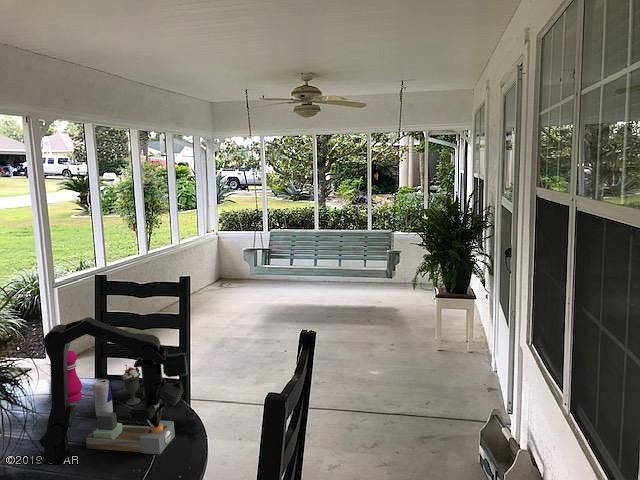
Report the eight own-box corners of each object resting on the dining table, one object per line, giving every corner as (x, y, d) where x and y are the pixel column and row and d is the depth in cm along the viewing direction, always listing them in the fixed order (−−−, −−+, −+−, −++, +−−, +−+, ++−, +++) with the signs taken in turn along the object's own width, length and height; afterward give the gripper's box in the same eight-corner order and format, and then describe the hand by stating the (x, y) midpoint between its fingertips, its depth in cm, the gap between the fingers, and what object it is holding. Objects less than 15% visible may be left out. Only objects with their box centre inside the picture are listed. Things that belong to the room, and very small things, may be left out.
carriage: (112, 441, 159) (109, 419, 158) (94, 440, 160) (91, 418, 159) (122, 431, 165) (120, 409, 164) (105, 430, 166) (102, 409, 165)
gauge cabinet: (161, 454, 155) (160, 438, 154) (141, 453, 156) (139, 437, 155) (176, 436, 164) (175, 421, 163) (156, 435, 165) (155, 420, 165)
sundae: (122, 407, 184) (118, 367, 181) (124, 399, 190) (120, 360, 188) (142, 404, 186) (138, 364, 183) (143, 396, 192) (139, 357, 189)
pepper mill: (57, 402, 190) (50, 350, 186) (71, 393, 196) (65, 342, 193) (73, 404, 187) (67, 351, 184) (87, 395, 194) (81, 344, 191)
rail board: (142, 452, 156) (141, 441, 156) (87, 448, 159) (85, 437, 159) (156, 435, 165) (155, 425, 164) (103, 432, 168) (102, 422, 167)
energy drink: (116, 411, 181) (112, 379, 179) (108, 419, 176) (104, 386, 174) (101, 411, 182) (97, 378, 180) (93, 419, 177) (89, 385, 175)
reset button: (160, 442, 158) (159, 429, 157) (149, 441, 158) (148, 429, 158) (166, 435, 161) (165, 423, 160) (155, 434, 162) (154, 423, 161)
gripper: (163, 393, 146) (167, 445, 149) (190, 366, 164) (194, 412, 167) (126, 392, 148) (131, 442, 150) (157, 365, 166) (161, 410, 169)
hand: (156, 426), depth 159 cm, fingers closed, pressing on reset button
